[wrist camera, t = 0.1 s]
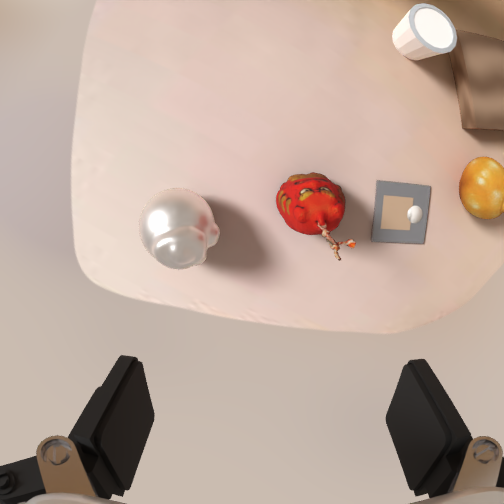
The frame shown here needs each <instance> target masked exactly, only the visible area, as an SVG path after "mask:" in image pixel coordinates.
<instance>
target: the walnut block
mask: <svg viewBox="0 0 504 504" xmlns="http://www.w3.org/2000/svg"><path fill="white" fill-rule="evenodd" d="M456 35H457V41H456V46H455V47H454V48H453V50H452V51H451V52H449V56H450V60H451V64H452V69H453V74H454V79H455V84H456V89H457V95H458V101H459V107H460V114H461V122H462V128H464V129H490V130H504V41H502V40H498V39H495V38H491V37H487V36H483V35H479V34H474V33H470V32H465V31H460V30H456Z"/></svg>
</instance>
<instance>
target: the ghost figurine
mask: <svg viewBox="0 0 504 504" xmlns="http://www.w3.org/2000/svg"><path fill="white" fill-rule="evenodd" d="M139 234H140V238H141V241H142V243H143V245H144V247H145V249H146V250H147V251H148V253H149V254H150V255H151V256H153V257H154V258H155V259H156V260H157V261H158V262H160V263H161V264H163V265H164V266H166V267H169V268H172V269H186V268H189V267H192V266H194V265H200V264H201V263H203V262H204V261H205V259H206V257H207V249H208V248H209V247H212V246H214V245H215V244H216V243H217V241H218V239H219V236H220V230H219V228H218V226H217V225H216V224H215V221H214V216H213V213H212V211H211V209H210V207H209V205H208V204H207V202H206V201H205V200H204V199H203V198H202V197H201V196H199V195H198V194H196V193H195V192H193V191H190V190H187V189H182V188H172V189H167V190H164V191H162V192H160V193H158V194H156V195H155V196H153V197H152V198H151V199H150V200H149V201H148V202H147V204H146V205H145V207H144V208H143V210H142V213H141V216H140V220H139Z"/></svg>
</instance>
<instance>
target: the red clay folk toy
mask: <svg viewBox="0 0 504 504" xmlns="http://www.w3.org/2000/svg"><path fill="white" fill-rule="evenodd" d="M276 204H277V208H278V210H279V212H280V214H281V215H282V217H283V218H284V220H285V222H286V224H287V225H288V226H289V227H290V228H292V229H293V230H295V231H297V232H300V233H303V234H307V235H316V234H322V236H323V237H327V239H326V240H327V242H329V245H330V247H331V249H334V254H335V257H336V258H337V259H338V260H339V261H340V260H341V258H340V256H339V255H338V252H337V251H338V250H339V249H340V247H339V245H340V244H344V245H347V246H349V247H351V248H354V247H355V244H356V242H354V240H352V239H348V240H347V241H344V242H335V241H334V239H333V238H332V237H331V236H330V235H329V234H330V232H331V231H333V230H334V229H336V228H337V227H338V225H339V223H340V221H341V219H342V218H343V215H344V211H345V197H344V194H343V192H342V190H341V187H340V186H338V185H335V184H333V183H332V182H331V181H330V180H329V179H328V178H327V177H326V176H324V175H322V174H318V173H310V174H307V175H305V174H297V175H293V176H290V177H289V179H288V180H287V182H286V183H283V184H282V186H281V187H280V190H279V191H278V193H277V196H276Z"/></svg>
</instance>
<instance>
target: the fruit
mask: <svg viewBox="0 0 504 504" xmlns="http://www.w3.org/2000/svg"><path fill="white" fill-rule="evenodd" d="M459 195H460V199H461V201H462V203H463V205H464V207H465V208H466V209H467V211H468V212H470V213H471V214H472V215H474V216H476V217H479V218H482V219H492V218H496V217H498V216H500V215H501V214H502V213H504V168H503V167H502V165H501V164H500V163H498V162H497V161H495V160H494V159H492V158H489V157H478V158H476V159H474V160H472V161H471V162H470V163H469V164H468V165H467V167H466V168H465V170H464V171H463V174H462V177H461V180H460V184H459Z"/></svg>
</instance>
